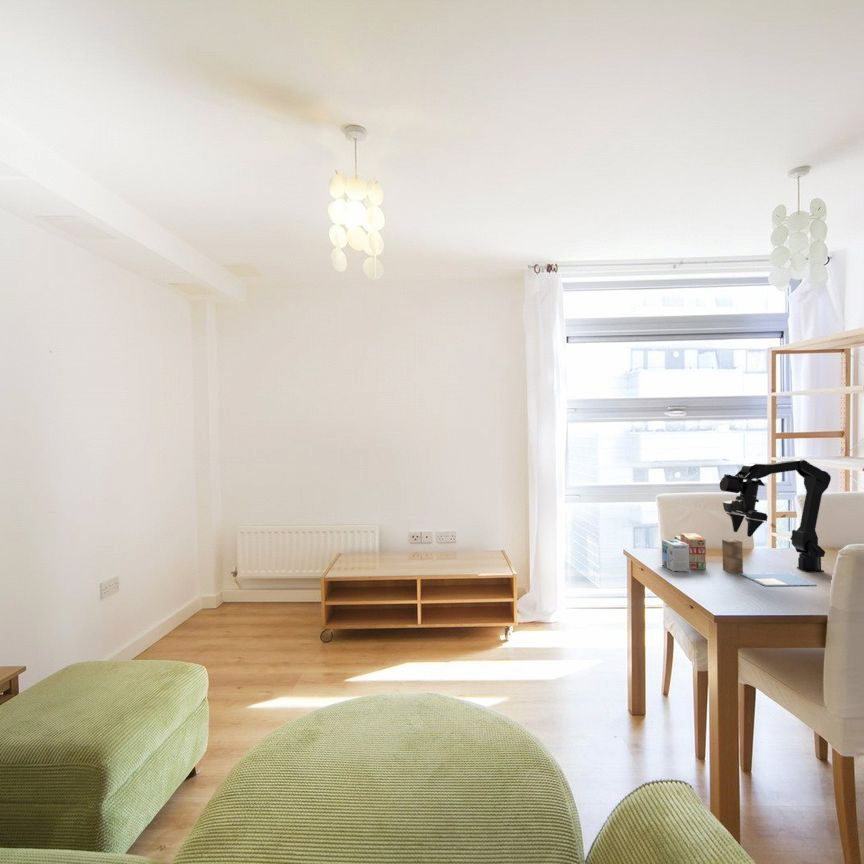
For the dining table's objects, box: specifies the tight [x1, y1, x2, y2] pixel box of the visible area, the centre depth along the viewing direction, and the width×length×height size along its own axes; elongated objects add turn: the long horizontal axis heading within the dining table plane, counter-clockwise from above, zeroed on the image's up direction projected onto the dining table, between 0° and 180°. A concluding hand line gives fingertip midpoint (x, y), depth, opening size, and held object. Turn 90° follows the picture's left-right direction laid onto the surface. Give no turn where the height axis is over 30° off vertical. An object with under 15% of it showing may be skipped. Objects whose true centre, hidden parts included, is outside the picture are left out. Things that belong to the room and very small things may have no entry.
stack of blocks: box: [674, 532, 707, 570], centre depth 214 cm, size 21×6×12 cm, turn 168°
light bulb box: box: [661, 538, 690, 573], centre depth 205 cm, size 11×7×11 cm, turn 178°
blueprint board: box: [739, 572, 817, 587], centre depth 187 cm, size 18×15×1 cm
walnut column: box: [721, 538, 744, 574], centre depth 199 cm, size 5×5×12 cm
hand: (741, 534), depth 199 cm, fingers open, 9 cm apart
